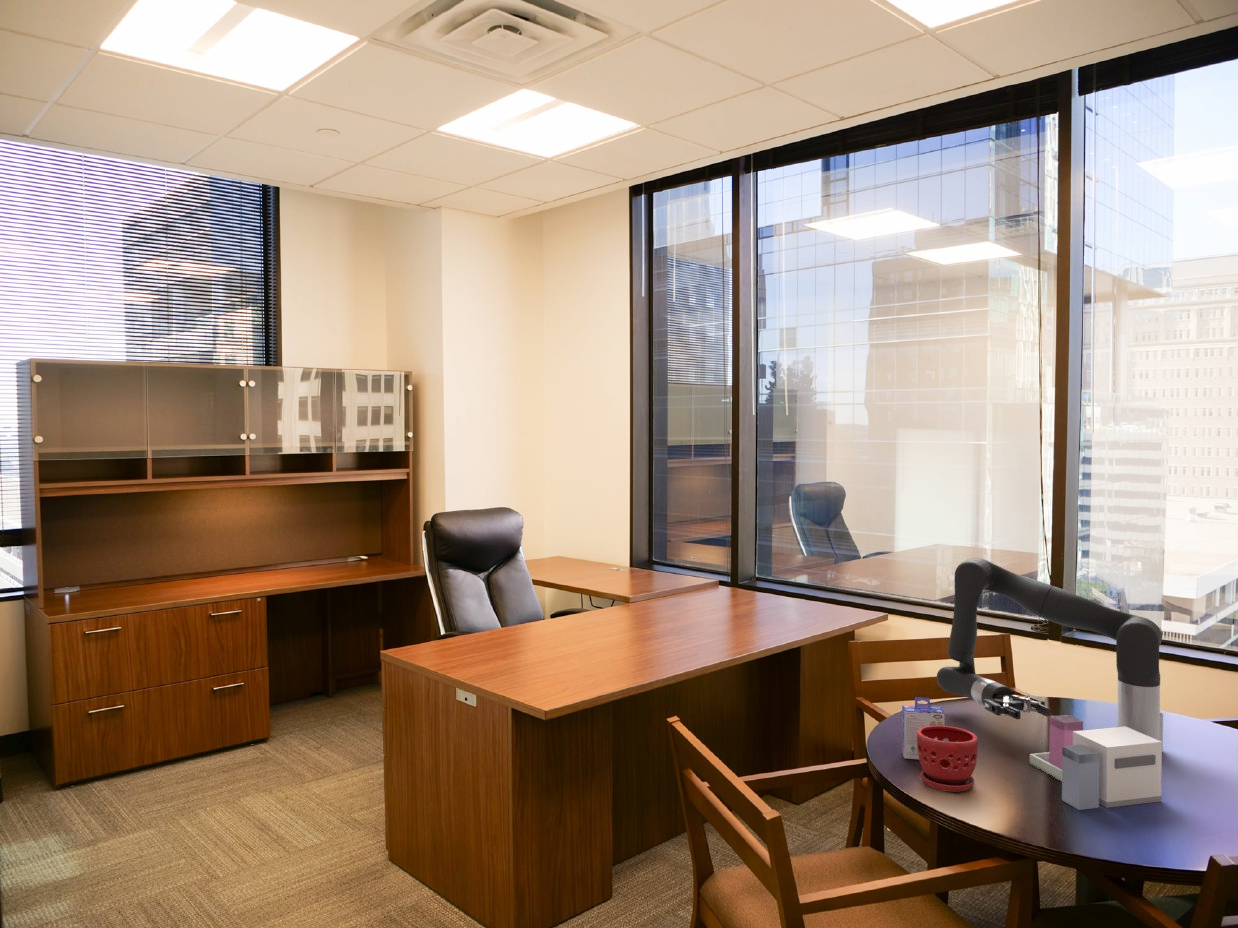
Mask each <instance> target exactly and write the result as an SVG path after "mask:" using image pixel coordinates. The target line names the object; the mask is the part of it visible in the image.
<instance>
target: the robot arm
mask: <svg viewBox="0 0 1238 928" xmlns="http://www.w3.org/2000/svg"><path fill="white" fill-rule="evenodd" d="M983 591H987V592H992V593H994V594H998V595H999V596H1003V597H1005V598H1008V599H1009V600H1011V601H1013V602H1015V603H1016V604H1018V605H1019V606H1020V607H1022V609H1024V610H1026V611H1027V612H1030V613H1031V614H1033V615H1034V616H1037V617H1039V618H1042V619H1044V620H1047V621H1050V622H1052V623H1055V624H1058V625H1060V626H1066V627H1068V628H1069V627H1070V628H1074V629H1079V630H1085V631H1091V632H1095V633H1098V634H1101V635H1102V636H1106V637H1108V638H1110V639H1112V640H1114V641H1116V644H1115V648H1116V649H1115V651H1116V654H1115V655H1116V656H1115V657H1116V671H1117V709H1116V710H1117V711H1116V712H1117V715H1116V716H1117V720H1116V721H1117V722H1116V723H1117V724H1116V725H1117V726H1116V727H1124V726H1126V727H1128V728H1130V729H1133V730H1135V731H1137V732H1140V733H1142V734H1145V735H1147V736H1149V737H1152V738H1154V739H1156V740H1159V741H1161V742H1162V752H1163V749H1164V748H1163V747H1164V744H1163V742H1164V713H1162V712H1161V672H1160V646H1161V644H1162V640H1163V633H1162V630H1161V629H1160V627H1159V626H1158V625H1157V624H1156V623H1155V622H1154V621H1152V620H1151V619H1149V618H1146V617H1143V616H1139V615H1135V614H1132V613H1127V612H1124V611H1120V610H1117V609H1113V608H1110V607H1107V606H1104V605H1102V604H1099V603H1097V602H1095V601H1093V600H1090V599H1088V598H1086V597H1083V596H1081V595H1077V594H1075V593H1074V592H1070V591H1069V590H1066V589H1064V588H1060V587H1057V586H1054V585H1052V584H1049V583H1046V582H1042V581H1040V580H1036V579H1034V578H1031V577H1027V576H1023V575H1020V574H1018V573H1014V572H1013V571H1010V570H1008V569H1005V568H1003V567H1002V566H999V565H998V564H995V563H993V562H991V561H990V560H987V559H986V558H985V559H984V558H982V557H971V558H968V559H967V560H964V561H962V562H961V563H960V564H958V566H957V567H956V569H955V571H954V607H953V617H952V623H951V630H950V634H949V641H948V647H947V656H948V658H950V659H951V660H953V661H956V662H958V663H959V665H958V666H943V667H941V668H940V669H939V670H938V671H937V674H936V681H937V684H938V686H939V687H940V688H941V689H942V690H943V691H944V692H947V693H948V694H949V693H950V694H951V695H952V694H953V695H957V696H961V697H965V698H968V699H970V700H971V701H973V702H976V703H978V704H979V705H980V706H982V707H984V710H986V711H988V712H990V713H992V714H993V715H996V716H1001V715H1003V716H1009V717H1010V718H1013V719H1015V720H1021V712H1023V713H1031V712H1033V713H1038V714H1040V715H1042V716H1043V717H1044V716H1045V717H1050V716H1051V708H1050V707H1048V706H1046V701H1045V700H1043V699H1040V698H1038V697H1035V696H1033V695H1030V694H1028V695H1026V697H1023V696H1020V695H1016V694H1015V692H1014V690H1013V689H1012V688H1010V687H1009V686H1007V685H1004V684H1002V683H999V682H997V681H995V680H993V679H990V678H985V677H984V676H981V675H978V674H976V667H975V649H976V645H977V640H978V639H977V638H978V637H977V636H978V621H977V620H978V619H977V617H978V616H977V615H978V609H979V603H980V599H981V597H982V593H983ZM1025 704H1026V708H1025Z"/></svg>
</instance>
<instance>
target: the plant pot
mask: <svg viewBox="0 0 1238 928" xmlns="http://www.w3.org/2000/svg"><path fill="white" fill-rule="evenodd" d="M936 737H937V738H938V739H937V740H935V739H934V738H936ZM943 739H947V740H948V741H947V740H945V741H943ZM978 741H979V740H978V736H977V735H976V734H975V733H973V732H971V731H969V730H967V729H964V728H961V727H955V726H948V725H945V726H927V727H922V728H920V729H919V730H918V731H917V750H918V755H919V759H918V761H919V763H920V766H921V768H922V770H921V772H920V778H921V779H922V781H923V782H924V783H925V784H926V785H928V786H929V787H931V788H933V789H936V790H939V791H944V792H951V793H953V792H955V793H959V792H965V791H967V790H970V789H971V788H972V787H974V785H975V778H974V776H972V775H973V773H974V771H975V768H976V767H977V766H976V765H977V760H978V747H979V746H978V744H979V743H978Z"/></svg>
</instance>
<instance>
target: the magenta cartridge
mask: <svg viewBox="0 0 1238 928" xmlns="http://www.w3.org/2000/svg"><path fill="white" fill-rule="evenodd" d="M1083 730H1084V721H1083V720H1081V719H1078V718H1076V717H1074V716H1072V715H1069V714H1061V715H1050V716H1049V733H1048V734H1049V742H1048V743H1049V746H1048V747H1049V749H1048V750H1049V751H1048V752H1049V763H1050V764H1052V765H1054V766H1056V767H1058V768H1059V769H1061V770H1062V746H1072V745H1073V731H1083Z"/></svg>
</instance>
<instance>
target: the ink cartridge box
mask: <svg viewBox="0 0 1238 928" xmlns="http://www.w3.org/2000/svg"><path fill="white" fill-rule="evenodd" d="M930 700H931V699H930V698H929V697H916V696H915V697H914V705H902V706H901V709H902V710H901V711H902V712H901V713H902V714H901V715H902V716H901V717H902V718H901V719H902V752H901V753H902V756H903V759H907V760H919V755H918V750H917V731H918V730H919V729H920V728H922V727H927V726H946V725H945V723H946V721H945V720H946V719H945V718H946V716H945V715H946V713H945V711H944V710H943V709H944V708H943V707H942V706H931V701H930ZM921 701H924V702H926V703H919V702H921ZM934 739H935V740H937V739H938V738H937V737H936V738H934ZM945 739H946V738H945ZM945 739H943V741H946V740H945Z"/></svg>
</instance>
